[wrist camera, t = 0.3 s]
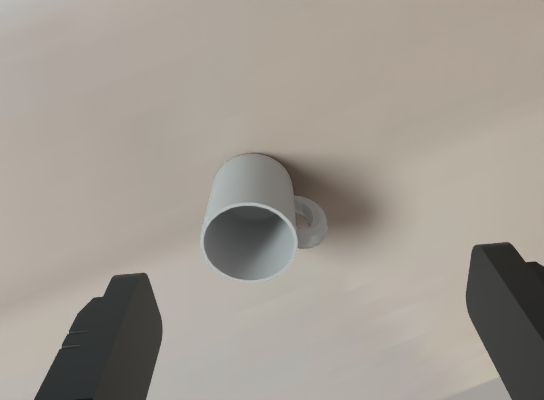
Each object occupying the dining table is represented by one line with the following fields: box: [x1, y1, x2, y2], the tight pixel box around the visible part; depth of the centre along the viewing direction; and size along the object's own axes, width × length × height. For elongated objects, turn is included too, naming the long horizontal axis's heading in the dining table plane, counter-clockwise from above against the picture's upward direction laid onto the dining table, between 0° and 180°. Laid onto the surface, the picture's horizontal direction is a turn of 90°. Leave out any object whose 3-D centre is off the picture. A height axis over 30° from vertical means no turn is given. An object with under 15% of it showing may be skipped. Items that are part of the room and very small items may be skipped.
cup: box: [200, 154, 328, 283], centre depth 38 cm, size 7×10×9 cm
